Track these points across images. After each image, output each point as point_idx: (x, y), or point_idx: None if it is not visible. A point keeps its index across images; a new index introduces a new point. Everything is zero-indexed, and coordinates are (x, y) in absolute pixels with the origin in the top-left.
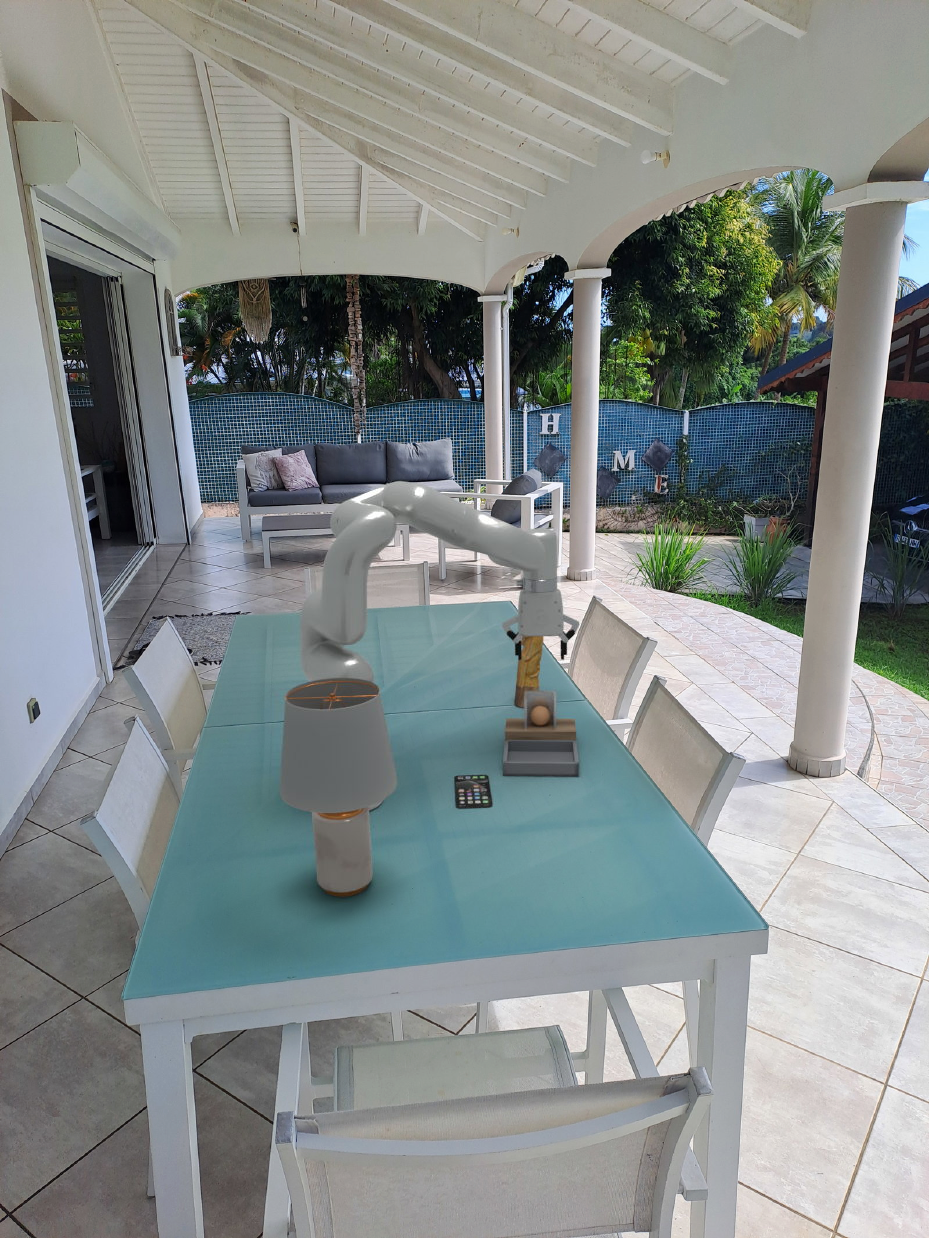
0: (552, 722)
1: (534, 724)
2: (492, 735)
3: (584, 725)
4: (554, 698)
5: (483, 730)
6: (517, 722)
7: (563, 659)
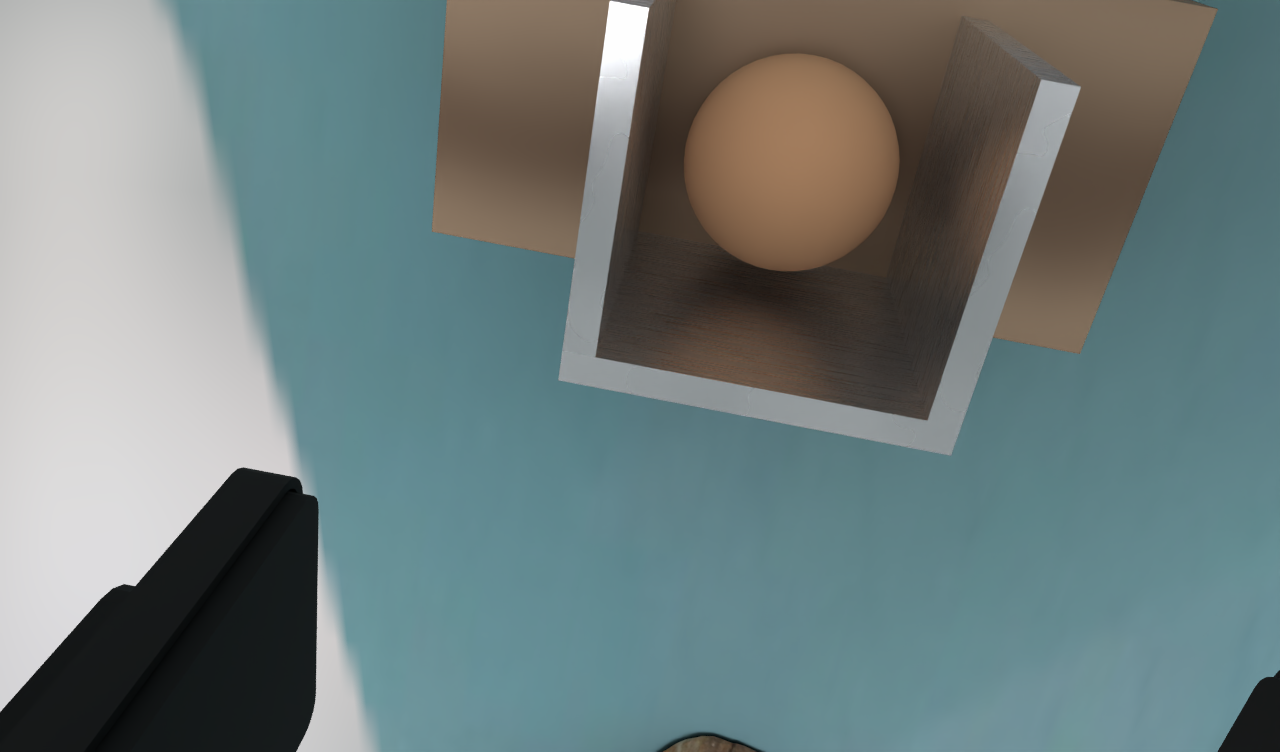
0: (656, 176)
1: None
2: (1126, 353)
3: (378, 407)
4: (621, 105)
5: (1163, 457)
6: None
7: (259, 472)
